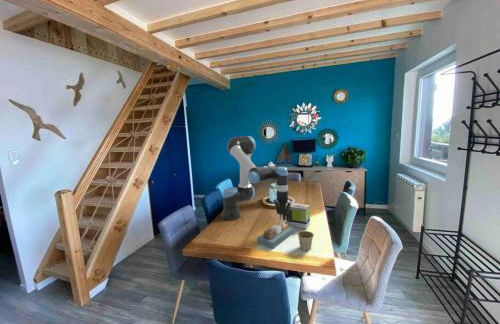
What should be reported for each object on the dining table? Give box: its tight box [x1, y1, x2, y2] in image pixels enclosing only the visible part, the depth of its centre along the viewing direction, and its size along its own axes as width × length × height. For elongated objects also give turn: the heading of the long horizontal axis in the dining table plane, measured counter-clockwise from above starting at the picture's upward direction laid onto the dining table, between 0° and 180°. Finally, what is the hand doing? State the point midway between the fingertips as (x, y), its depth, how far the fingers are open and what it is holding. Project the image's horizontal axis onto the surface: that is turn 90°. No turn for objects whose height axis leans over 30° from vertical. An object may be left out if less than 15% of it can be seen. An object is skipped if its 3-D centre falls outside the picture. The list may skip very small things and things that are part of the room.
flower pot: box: [297, 230, 315, 251], centre depth 139 cm, size 9×9×9 cm
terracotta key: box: [278, 222, 288, 230], centre depth 160 cm, size 5×5×4 cm
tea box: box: [285, 202, 311, 230], centre depth 172 cm, size 15×10×15 cm, turn 59°
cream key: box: [270, 224, 282, 235], centre depth 153 cm, size 5×5×4 cm
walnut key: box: [263, 228, 275, 240], centre depth 147 cm, size 5×5×4 cm
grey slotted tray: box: [256, 222, 295, 250], centre depth 154 cm, size 12×26×4 cm, turn 141°
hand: (282, 224), depth 159 cm, fingers closed
